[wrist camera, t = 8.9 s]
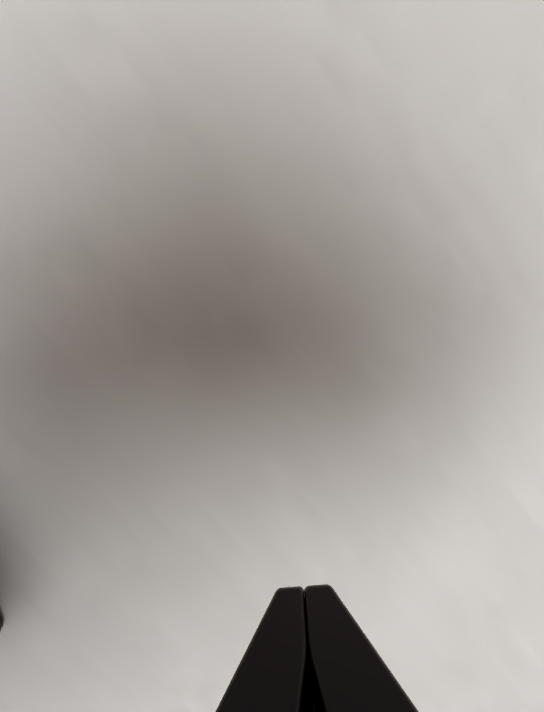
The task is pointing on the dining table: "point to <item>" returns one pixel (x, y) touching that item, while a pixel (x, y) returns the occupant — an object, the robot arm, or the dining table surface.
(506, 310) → the dining table surface
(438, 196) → the dining table surface
